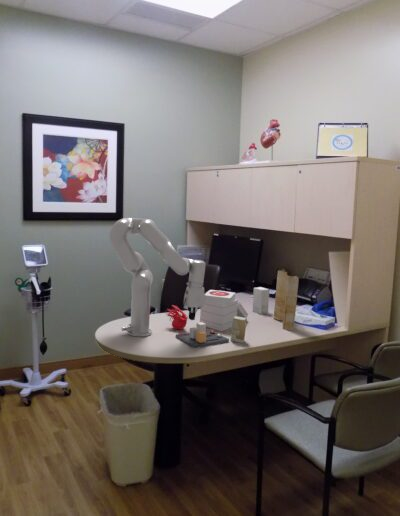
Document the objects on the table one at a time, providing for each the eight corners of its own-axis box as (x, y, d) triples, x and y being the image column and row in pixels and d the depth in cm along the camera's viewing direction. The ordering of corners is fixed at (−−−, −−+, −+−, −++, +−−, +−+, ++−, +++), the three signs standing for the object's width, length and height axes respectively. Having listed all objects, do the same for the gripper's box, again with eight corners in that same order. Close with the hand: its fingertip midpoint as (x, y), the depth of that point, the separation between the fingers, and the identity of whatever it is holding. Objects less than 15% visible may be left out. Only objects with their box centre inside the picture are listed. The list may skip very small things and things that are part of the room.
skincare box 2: (268, 313, 298) (270, 289, 295) (260, 314, 294) (262, 290, 292) (259, 310, 305) (261, 286, 302) (251, 311, 301) (253, 287, 299)
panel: (194, 348, 228) (194, 343, 227) (175, 337, 241) (175, 332, 241) (228, 342, 240) (229, 337, 239) (209, 332, 253) (209, 327, 253)
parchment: (295, 330, 266) (300, 278, 262) (284, 330, 265) (289, 277, 261) (282, 318, 289) (287, 270, 284) (272, 318, 288) (277, 269, 283)
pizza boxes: (250, 321, 278) (252, 291, 276) (222, 332, 254) (225, 299, 251) (223, 314, 289) (225, 285, 286) (193, 324, 265) (195, 293, 262)
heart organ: (177, 333, 248) (179, 311, 246) (163, 327, 256) (164, 305, 255) (191, 330, 254) (193, 308, 253) (177, 324, 263) (179, 303, 261)
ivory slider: (200, 333, 244) (200, 324, 244) (196, 331, 247) (196, 322, 247) (205, 332, 246) (206, 324, 246) (201, 330, 249) (202, 322, 249)
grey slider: (193, 338, 235) (193, 330, 234) (189, 336, 238) (189, 328, 237) (198, 338, 237) (199, 329, 236) (195, 335, 240) (195, 327, 239)
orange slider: (200, 342, 230) (200, 333, 229) (195, 340, 233) (196, 331, 232) (205, 341, 232) (206, 332, 231) (201, 339, 235) (202, 330, 234)
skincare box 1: (230, 341, 241) (232, 317, 239) (233, 338, 245) (234, 315, 243) (242, 343, 239) (244, 319, 237) (244, 340, 243) (246, 317, 241)
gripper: (187, 286, 233) (183, 322, 236) (211, 285, 241) (207, 320, 244) (179, 283, 239) (175, 318, 242) (203, 282, 247) (199, 316, 250)
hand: (191, 319), depth 243 cm, fingers closed
